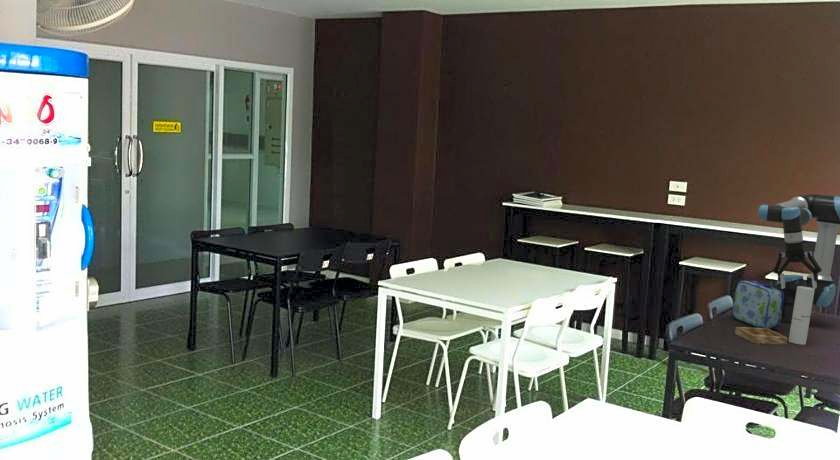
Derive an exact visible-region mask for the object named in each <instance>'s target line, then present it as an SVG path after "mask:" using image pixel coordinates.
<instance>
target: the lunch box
mask: <svg viewBox="0 0 840 460" xmlns="http://www.w3.org/2000/svg"><path fill="white" fill-rule="evenodd" d="M783 301H784V294H783V292H782V291H781V290H779V289H777V288H776V287H774V286H772V285H769V284H766V283H762V282H760V281H756V280H740V281H739V282H737V285H736V287H735V291H734V296H733V303H732V315H733V317H734V319H736V320H738V321H740V322H743V323H746V324H747V325H750V326H753V327H754V328H768V329H770V330H777V329H778V327H779V325H780V324H781V323H782V322H781V316H782V308H783Z"/></svg>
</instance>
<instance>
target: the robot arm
mask: <svg viewBox="0 0 840 460" xmlns="http://www.w3.org/2000/svg"><path fill="white" fill-rule="evenodd" d="M757 218H758V219H759V220H760V221H764V222H769V223H771V222H772V223H778V224H782V227H783V228H782V230H783V238H784V239H783V240H784V242H785V243H784V246H785V247H784V248H785V252H783V251H782V252H779V253H778V258H777V261H776V264H775V266H774V268H773V270H772V271H773V272H772V273H773V274H777V281H776V285H775V288H777V289H779V290H781V291H782V292H783V294H784V301H783V308H782V316H781V322H780V323H788V324H791V322H792V316H793V310H794V303H795V297H796V291H797V286H803V287H809V288H813V289H815V291H814V297H813V303H812V306H816V307H824V308H825V307H828V306H830V305H831V303H832V302H833V301H834V298H835V295H836V292H837V285H835V284H834V283H833V282H834V280H833V278H832V277H831V272H832V266H833V261H834V256H835V249H836V248H835V247H836V244H837V238H838V231H839V228H840V196H837V195H835V196H834V195H825V194H816V193H809V194H803V195H798V196H793V197H792V198H791V199H790V200H788V201H787V200H786V201H784V202H780V203H777V204H771V205H770V204H761V205H760V206H759V208H758V209H757ZM812 218H814V219H816V221H815V222H816V224H817V225H818V230H817V235H816V240H815V248H814V253H813V252H812V251H807V252H805V247H804V241H803V240H804V237H803V230H802V229H803V228H802V226H805V225H807V224H809V223H810V222H811V221H812ZM785 257H786V258H787V259H786V260H785V262H784V263H783V264H782V262H783V260H784V258H785ZM806 257H807V258H808V260H809V261H810V262H809V261H808V260H807V259H806ZM790 263H802V264H803V265H804V266H805V267H806V268H807V269H808V270H809V271H810V272H811V273H810V274H809V275H807V276H806V278H804V276H803V275H799V274H785V273H783V272H784V271H785V270H786V268H788V266H789V264H790ZM781 265H782V266H781Z"/></svg>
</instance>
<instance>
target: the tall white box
mask: <svg viewBox="0 0 840 460" xmlns="http://www.w3.org/2000/svg"><path fill="white" fill-rule="evenodd" d="M814 291H815V289H813V288H809V287H803V286H797V291H796V297H795V303H794V310H793V316H792V322H791V323H790V329H789V335H788V336H789V337H788V342H789V343H792V344H796V345H801V346H802V345H803V346H804V345H806V344H807V338H808V333H809V325H810V320H811V314H812V308H813V305H812V303H813V297H814Z"/></svg>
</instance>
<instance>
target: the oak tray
mask: <svg viewBox="0 0 840 460" xmlns="http://www.w3.org/2000/svg"><path fill="white" fill-rule="evenodd" d="M734 334H735V336H738V337H740V338H742V339H743V340H746V341H747V340H748V342H749V343H751V344H760V343H761V344H762V345H766V344H767V345H779V346H780V345H782V346H783V345H784V346H786V345H788V344H787V343H788V337H787V336H785V335H782V334H781V333H779V332H777V331H774V330H773V329H768V328H758V327H749V326H747V327H746V326H744V327H743V326H735V328H734Z"/></svg>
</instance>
